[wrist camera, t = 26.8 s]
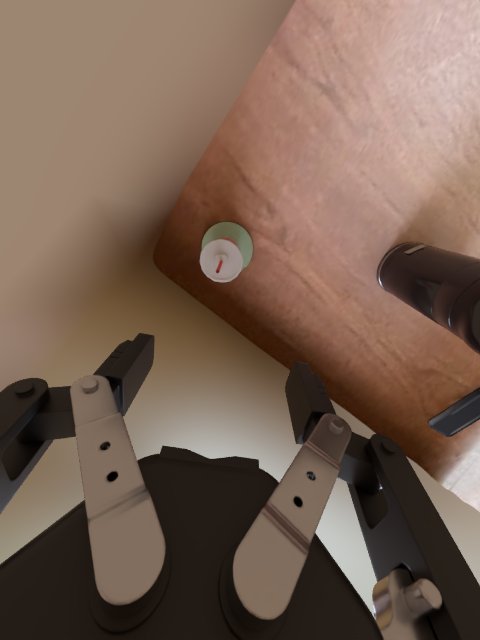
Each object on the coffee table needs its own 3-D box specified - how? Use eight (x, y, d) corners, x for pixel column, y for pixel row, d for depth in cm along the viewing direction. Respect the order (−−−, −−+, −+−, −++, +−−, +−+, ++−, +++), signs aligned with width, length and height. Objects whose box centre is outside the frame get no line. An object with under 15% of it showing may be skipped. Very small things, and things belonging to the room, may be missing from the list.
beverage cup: (207, 231, 40) (190, 245, 28) (243, 231, 40) (242, 245, 27) (209, 267, 43) (194, 294, 30) (243, 267, 43) (242, 295, 30)
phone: (505, 403, 55) (448, 438, 61) (500, 400, 56) (445, 434, 62) (485, 389, 54) (429, 426, 59) (481, 385, 55) (425, 422, 60)
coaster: (257, 227, 40) (258, 228, 40) (246, 277, 44) (246, 278, 44) (205, 216, 39) (205, 216, 39) (199, 268, 44) (198, 269, 43)
